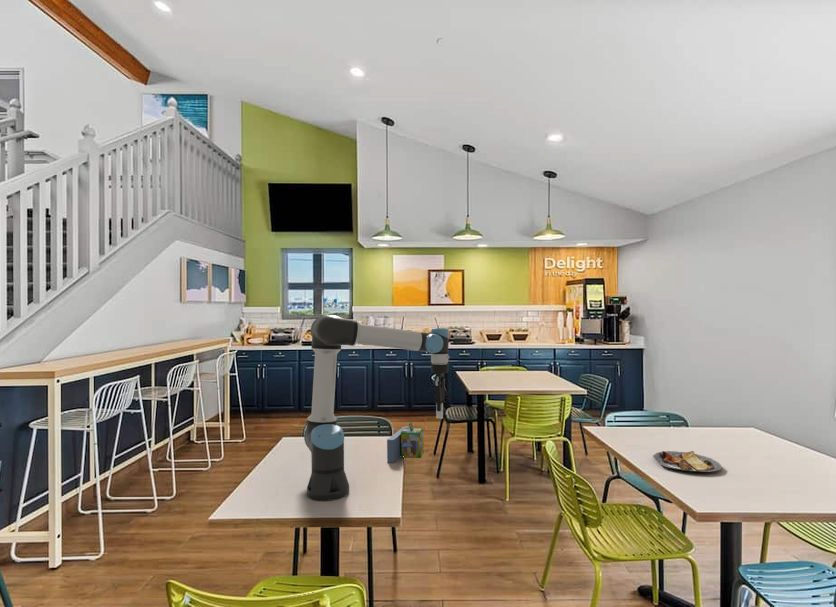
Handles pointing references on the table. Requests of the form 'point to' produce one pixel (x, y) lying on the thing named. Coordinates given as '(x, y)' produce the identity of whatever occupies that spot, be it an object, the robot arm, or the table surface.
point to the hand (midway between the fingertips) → (439, 418)
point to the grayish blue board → (394, 446)
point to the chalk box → (412, 442)
